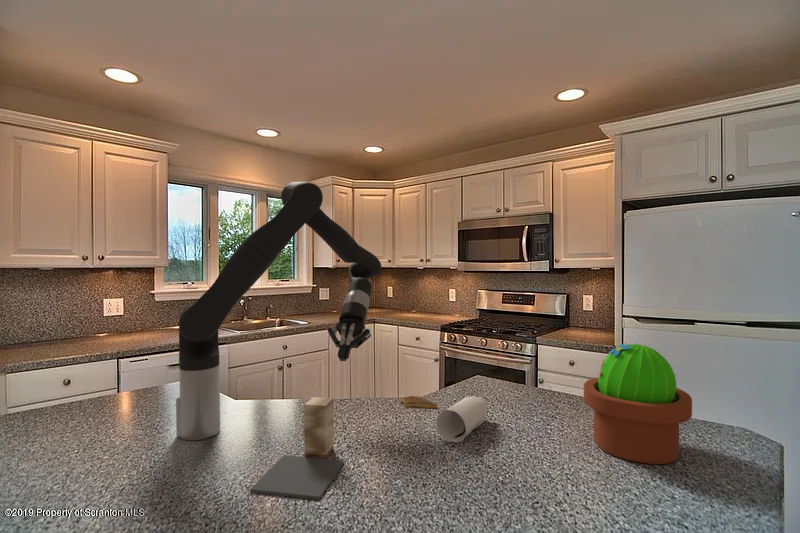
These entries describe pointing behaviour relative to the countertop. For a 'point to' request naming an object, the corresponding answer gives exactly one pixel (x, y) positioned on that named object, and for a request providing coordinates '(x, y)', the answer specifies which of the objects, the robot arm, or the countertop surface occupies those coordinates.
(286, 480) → the mat
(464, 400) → the hollow grey tube
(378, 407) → the countertop surface
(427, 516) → the countertop surface
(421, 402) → the shard
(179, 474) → the countertop surface
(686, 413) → the potted cactus
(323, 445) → the maple block
